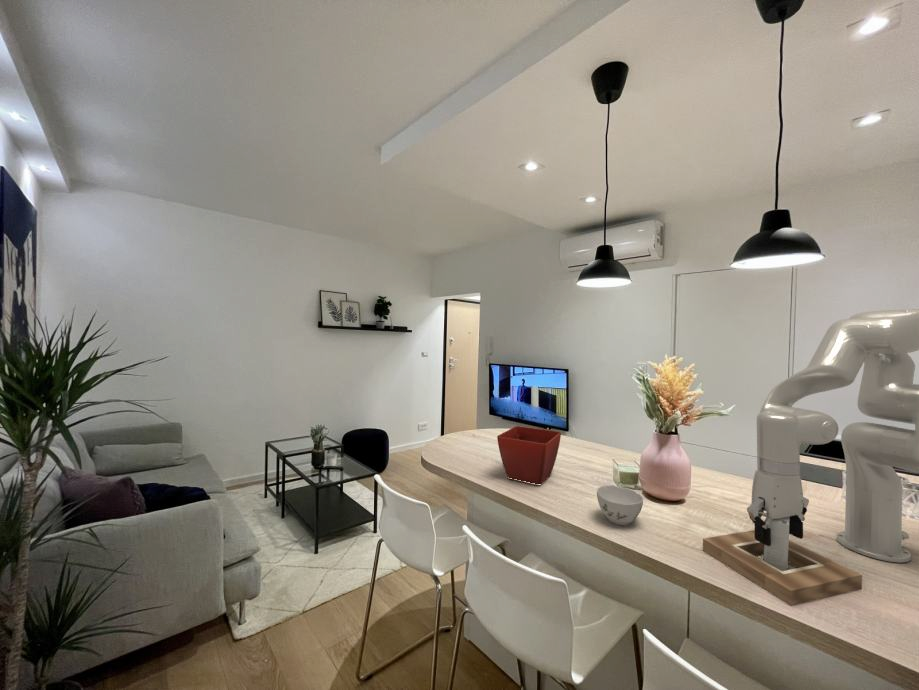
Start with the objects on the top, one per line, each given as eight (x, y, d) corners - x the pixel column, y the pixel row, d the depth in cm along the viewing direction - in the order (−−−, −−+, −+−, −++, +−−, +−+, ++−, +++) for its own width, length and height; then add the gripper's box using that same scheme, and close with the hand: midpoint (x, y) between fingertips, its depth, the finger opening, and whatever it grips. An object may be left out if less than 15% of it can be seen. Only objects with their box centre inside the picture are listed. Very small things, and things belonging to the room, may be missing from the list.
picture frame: (764, 539, 99) (764, 528, 99) (861, 588, 79) (862, 574, 79) (702, 550, 94) (702, 538, 94) (791, 605, 74) (791, 590, 74)
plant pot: (545, 491, 130) (545, 443, 129) (495, 480, 140) (496, 436, 139) (561, 474, 146) (561, 431, 146) (516, 466, 156) (516, 425, 156)
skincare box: (763, 558, 90) (764, 508, 90) (788, 565, 87) (789, 514, 87) (762, 570, 86) (763, 517, 86) (788, 578, 83) (789, 524, 83)
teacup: (628, 536, 100) (629, 507, 100) (587, 518, 110) (587, 491, 110) (655, 519, 110) (655, 492, 109) (614, 504, 119) (615, 480, 119)
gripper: (788, 456, 92) (789, 525, 92) (732, 465, 88) (733, 537, 88) (824, 466, 85) (825, 541, 85) (766, 476, 80) (767, 555, 81)
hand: (778, 539), depth 87 cm, fingers open, 9 cm apart
